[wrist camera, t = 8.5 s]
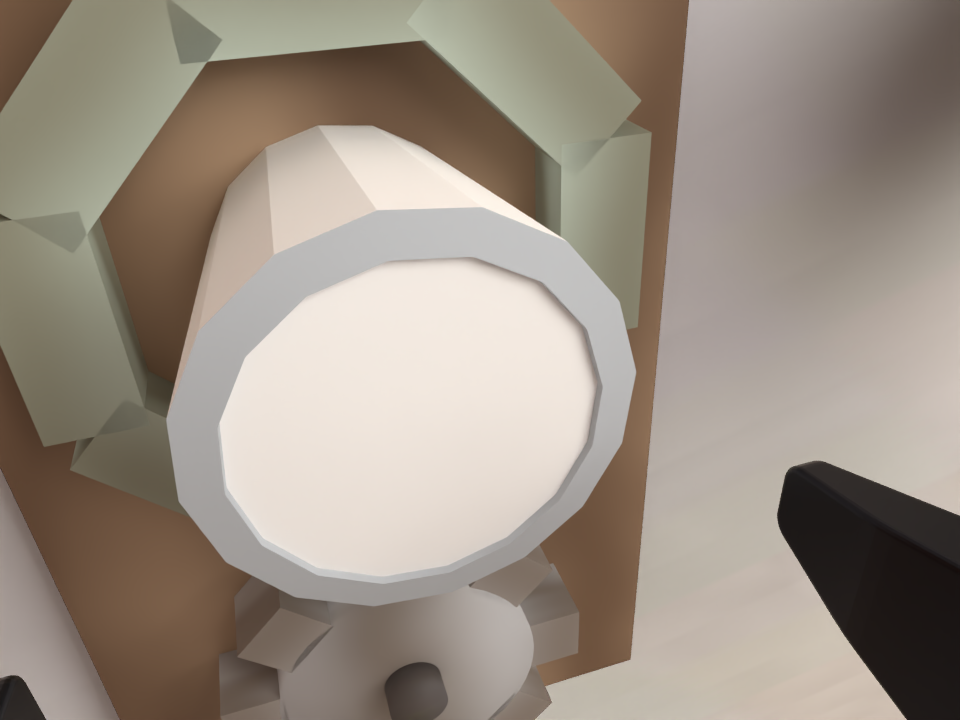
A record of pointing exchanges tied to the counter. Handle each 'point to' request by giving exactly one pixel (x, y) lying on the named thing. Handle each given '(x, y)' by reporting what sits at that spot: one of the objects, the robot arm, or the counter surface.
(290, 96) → the gear board
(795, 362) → the counter surface
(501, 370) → the white cylinder
